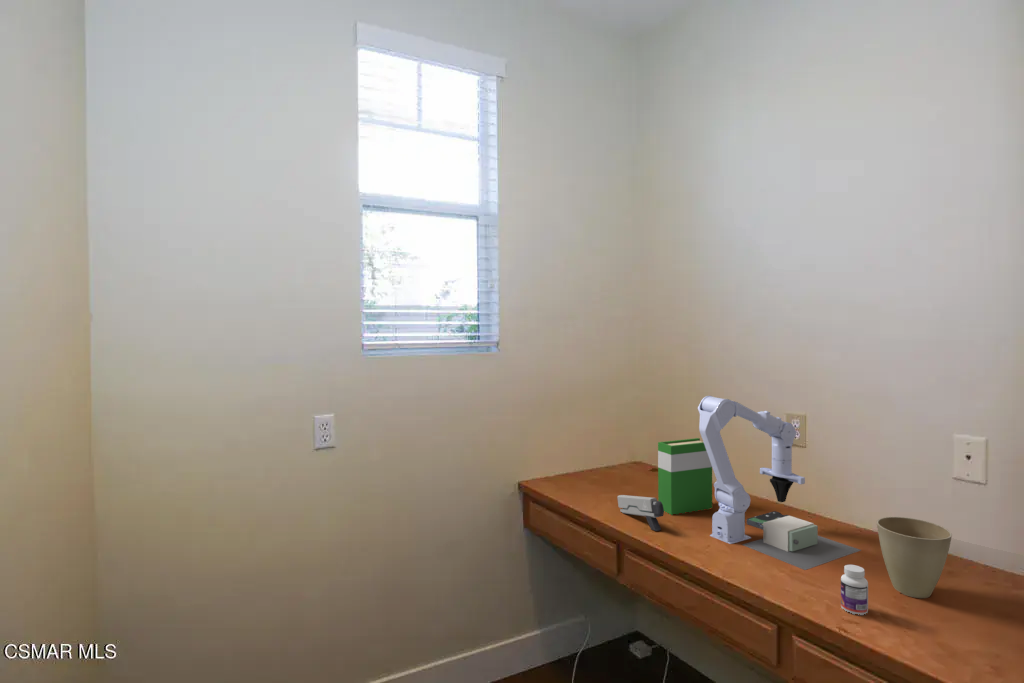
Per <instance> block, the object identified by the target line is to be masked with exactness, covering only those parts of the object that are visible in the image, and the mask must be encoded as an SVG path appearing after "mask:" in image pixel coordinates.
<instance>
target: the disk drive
mask: <svg viewBox="0 0 1024 683" xmlns="http://www.w3.org/2000/svg"><path fill="white" fill-rule="evenodd" d="M785 516H790V515H789V514H782V512H779V511H777V510H774V511H770V512H767V513H763V514H759V515H756V516H752V517H747V518H746V525H749V526H751V527H754V528H757V529H759V530H762V531H763V522H767V521H771V520H774V519H778V518H782V517H785ZM797 518H798V519H800V518H799V517H797Z"/></svg>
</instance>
